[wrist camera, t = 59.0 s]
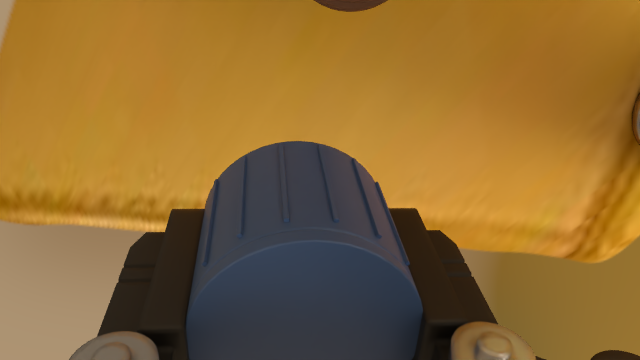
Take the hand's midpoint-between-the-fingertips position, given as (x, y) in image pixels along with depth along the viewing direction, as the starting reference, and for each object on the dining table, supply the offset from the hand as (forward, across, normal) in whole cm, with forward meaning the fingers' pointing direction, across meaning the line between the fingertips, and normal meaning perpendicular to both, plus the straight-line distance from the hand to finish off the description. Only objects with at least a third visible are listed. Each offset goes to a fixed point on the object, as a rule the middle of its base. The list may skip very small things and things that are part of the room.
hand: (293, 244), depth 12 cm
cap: (0, 0, -1) cm, 1 cm away
